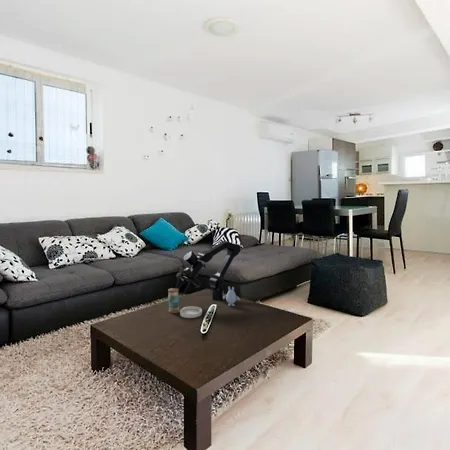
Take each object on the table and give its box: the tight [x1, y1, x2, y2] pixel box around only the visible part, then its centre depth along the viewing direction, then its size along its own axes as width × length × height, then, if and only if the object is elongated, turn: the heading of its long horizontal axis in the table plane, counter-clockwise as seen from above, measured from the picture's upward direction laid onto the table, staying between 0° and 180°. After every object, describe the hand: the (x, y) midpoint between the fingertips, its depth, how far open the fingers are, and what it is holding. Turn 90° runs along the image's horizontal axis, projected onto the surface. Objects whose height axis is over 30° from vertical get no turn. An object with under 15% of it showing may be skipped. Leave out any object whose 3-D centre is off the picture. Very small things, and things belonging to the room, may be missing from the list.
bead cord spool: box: [167, 287, 181, 314], centre depth 202 cm, size 6×6×13 cm
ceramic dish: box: [179, 305, 203, 319], centre depth 198 cm, size 12×12×2 cm
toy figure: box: [223, 285, 241, 307], centre depth 209 cm, size 11×6×12 cm, turn 72°
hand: (179, 291), depth 204 cm, fingers open, 9 cm apart
